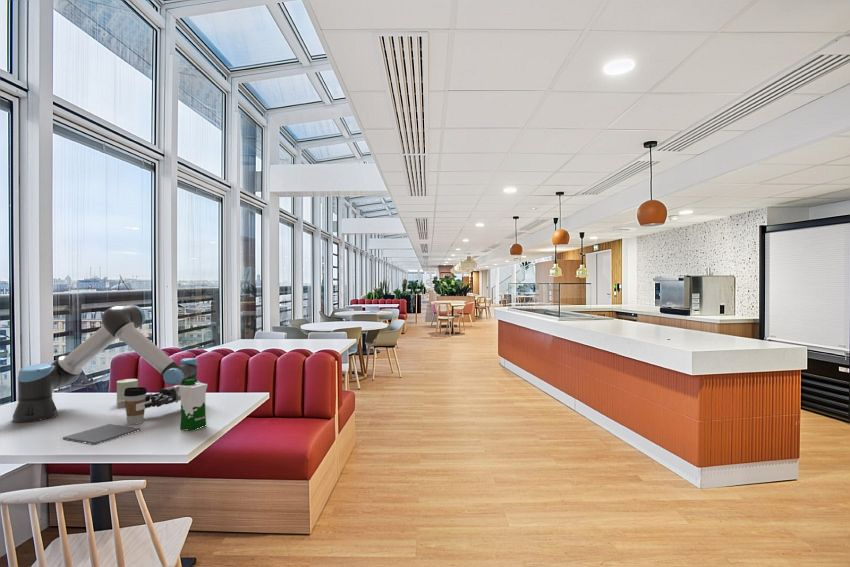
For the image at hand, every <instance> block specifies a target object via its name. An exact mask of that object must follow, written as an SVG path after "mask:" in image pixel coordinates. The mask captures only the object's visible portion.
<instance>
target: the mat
mask: <svg viewBox="0 0 850 567" xmlns="http://www.w3.org/2000/svg"><path fill="white" fill-rule="evenodd" d="M137 430H139V431H141V428H140V427H135V426H134V427H133V426H126V425H119V424H115V423H114V424H112V423H108V424H105V425H101V426H97V427H93V428H90V429H86V430H84V431H80V432H75V433H73V434H69V435H66V436H63V437H62V440H65V439H68V440H67V441H70V440H74V441H73V442H76V441H80V442H79V443H82V442H86V443H85V444H88V443H91V444H90V445H94V444H95V445H98V444H97V443H99V444H101V443H100V442H102V443H104V441H105V442H108V441H111V440H114V439H117V438H120V437H119V436H121V437H123V436H122V435H124V436H126V435H125V434H127V435H129V434H128V433H130V434H132V433H131V432H133V433H135V432H134V431H136V432H138V431H137ZM116 437H117V438H116ZM113 438H114V439H113ZM110 439H111V440H110ZM107 440H108V441H107Z"/></svg>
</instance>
